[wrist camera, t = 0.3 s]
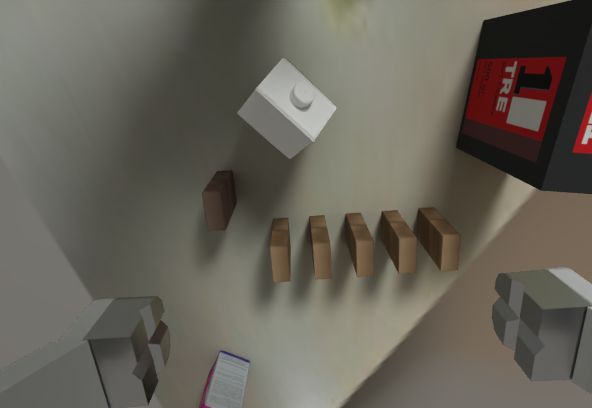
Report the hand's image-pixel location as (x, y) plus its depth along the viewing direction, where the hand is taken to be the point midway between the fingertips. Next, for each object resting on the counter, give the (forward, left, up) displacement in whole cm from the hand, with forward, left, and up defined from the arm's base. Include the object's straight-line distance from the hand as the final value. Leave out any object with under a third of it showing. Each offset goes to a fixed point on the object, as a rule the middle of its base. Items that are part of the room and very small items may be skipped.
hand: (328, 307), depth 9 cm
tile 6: (+19, +18, -46) cm, 53 cm away
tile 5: (+19, +13, -46) cm, 52 cm away
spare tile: (+11, -11, -46) cm, 49 cm away
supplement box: (+44, -15, -47) cm, 66 cm away
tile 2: (+19, -4, -46) cm, 50 cm away
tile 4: (+19, +7, -46) cm, 50 cm away
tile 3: (+19, +2, -46) cm, 50 cm away
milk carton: (-1, -1, -47) cm, 47 cm away
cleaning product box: (0, +28, -47) cm, 54 cm away
